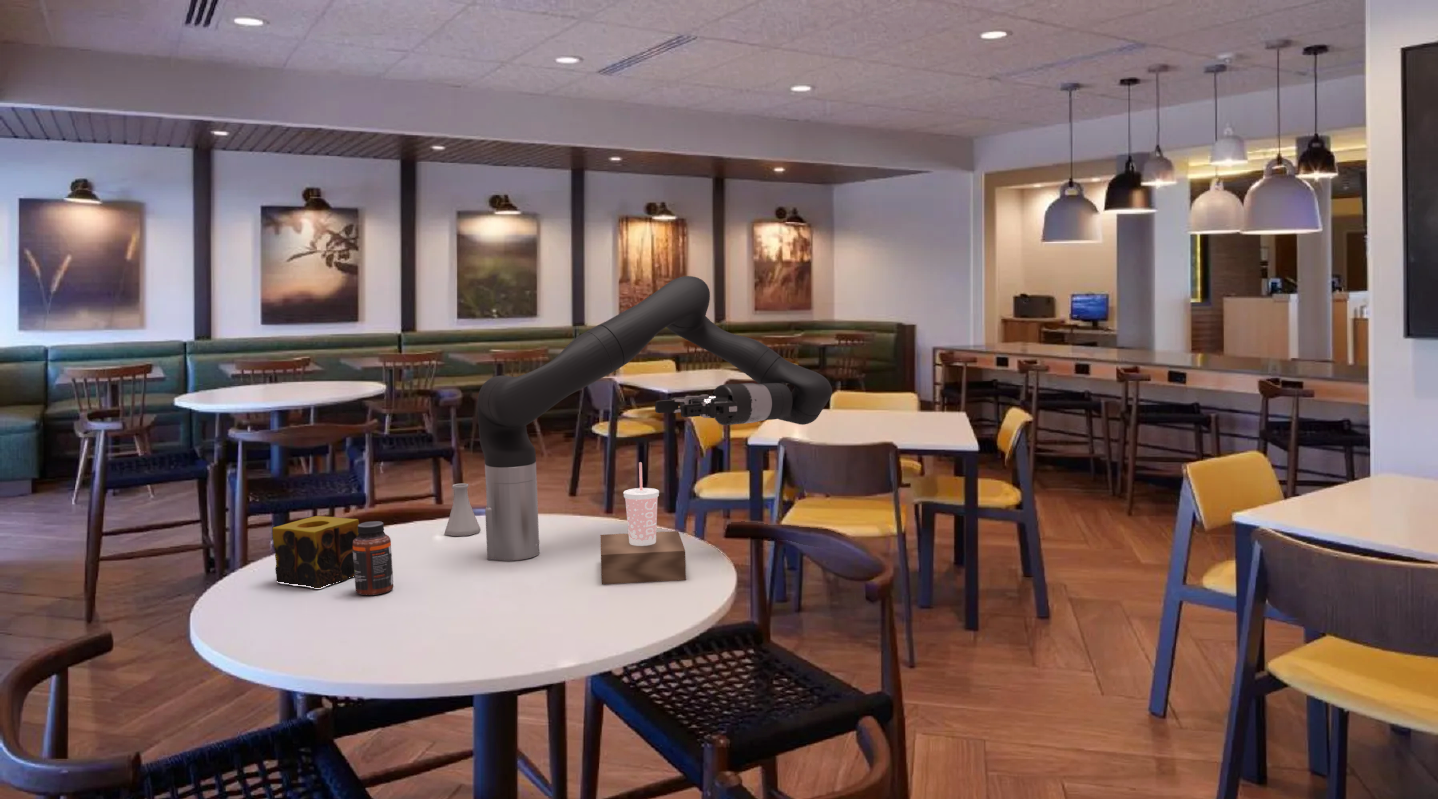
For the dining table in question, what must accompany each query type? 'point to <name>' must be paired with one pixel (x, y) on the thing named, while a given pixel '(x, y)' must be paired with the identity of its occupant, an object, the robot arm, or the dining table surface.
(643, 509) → the beverage cup
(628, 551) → the walnut riser block
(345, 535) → the yellow tissue box cover
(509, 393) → the robot arm
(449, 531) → the flask
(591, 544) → the dining table surface
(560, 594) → the dining table surface
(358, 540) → the supplement bottle
